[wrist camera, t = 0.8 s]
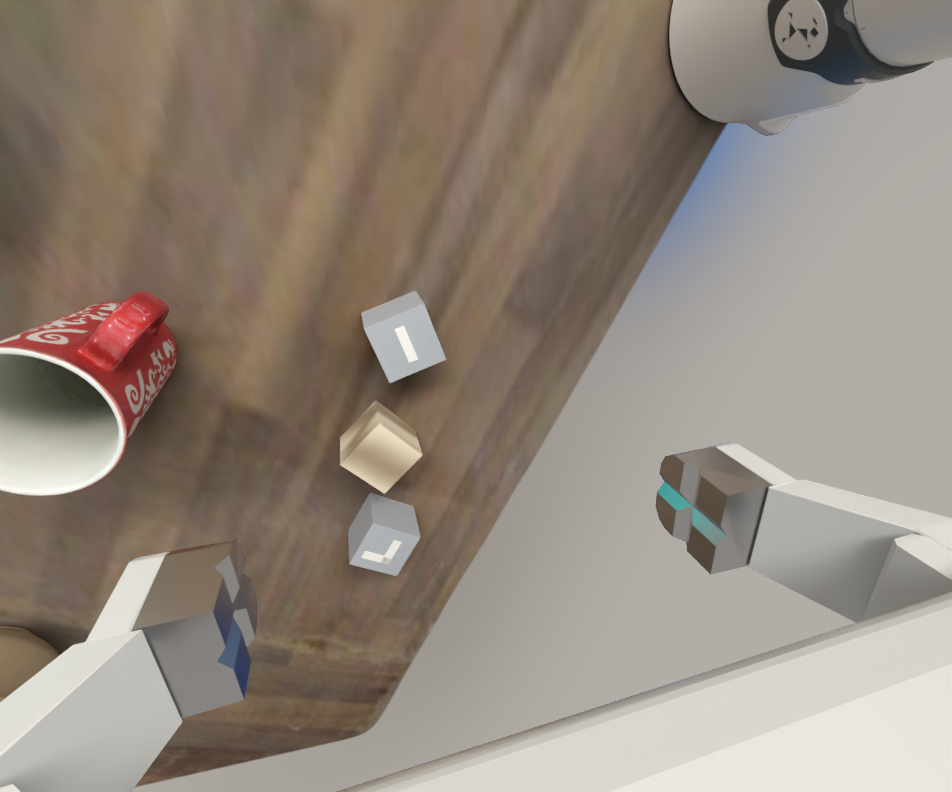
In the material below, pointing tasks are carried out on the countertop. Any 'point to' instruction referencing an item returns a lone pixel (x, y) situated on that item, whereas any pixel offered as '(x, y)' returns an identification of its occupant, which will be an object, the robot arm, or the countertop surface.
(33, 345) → the mug
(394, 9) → the countertop surface
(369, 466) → the maple block
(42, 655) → the bowl
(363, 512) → the grey block
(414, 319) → the grey block
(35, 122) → the countertop surface
